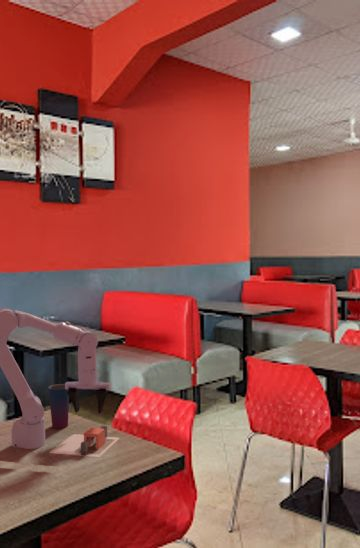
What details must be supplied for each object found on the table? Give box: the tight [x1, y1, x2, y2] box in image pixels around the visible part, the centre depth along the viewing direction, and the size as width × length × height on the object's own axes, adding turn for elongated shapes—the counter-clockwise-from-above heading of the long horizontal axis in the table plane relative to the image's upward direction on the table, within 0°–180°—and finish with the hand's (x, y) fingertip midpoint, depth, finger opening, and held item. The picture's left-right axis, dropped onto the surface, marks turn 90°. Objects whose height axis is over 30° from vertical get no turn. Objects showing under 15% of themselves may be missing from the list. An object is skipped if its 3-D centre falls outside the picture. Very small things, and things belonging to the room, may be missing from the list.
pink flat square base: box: [48, 425, 121, 458], centre depth 161 cm, size 16×16×5 cm
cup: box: [48, 383, 70, 430], centre depth 178 cm, size 7×7×15 cm
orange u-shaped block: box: [83, 427, 106, 450], centre depth 160 cm, size 5×5×5 cm
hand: (88, 411), depth 168 cm, fingers open, 7 cm apart
